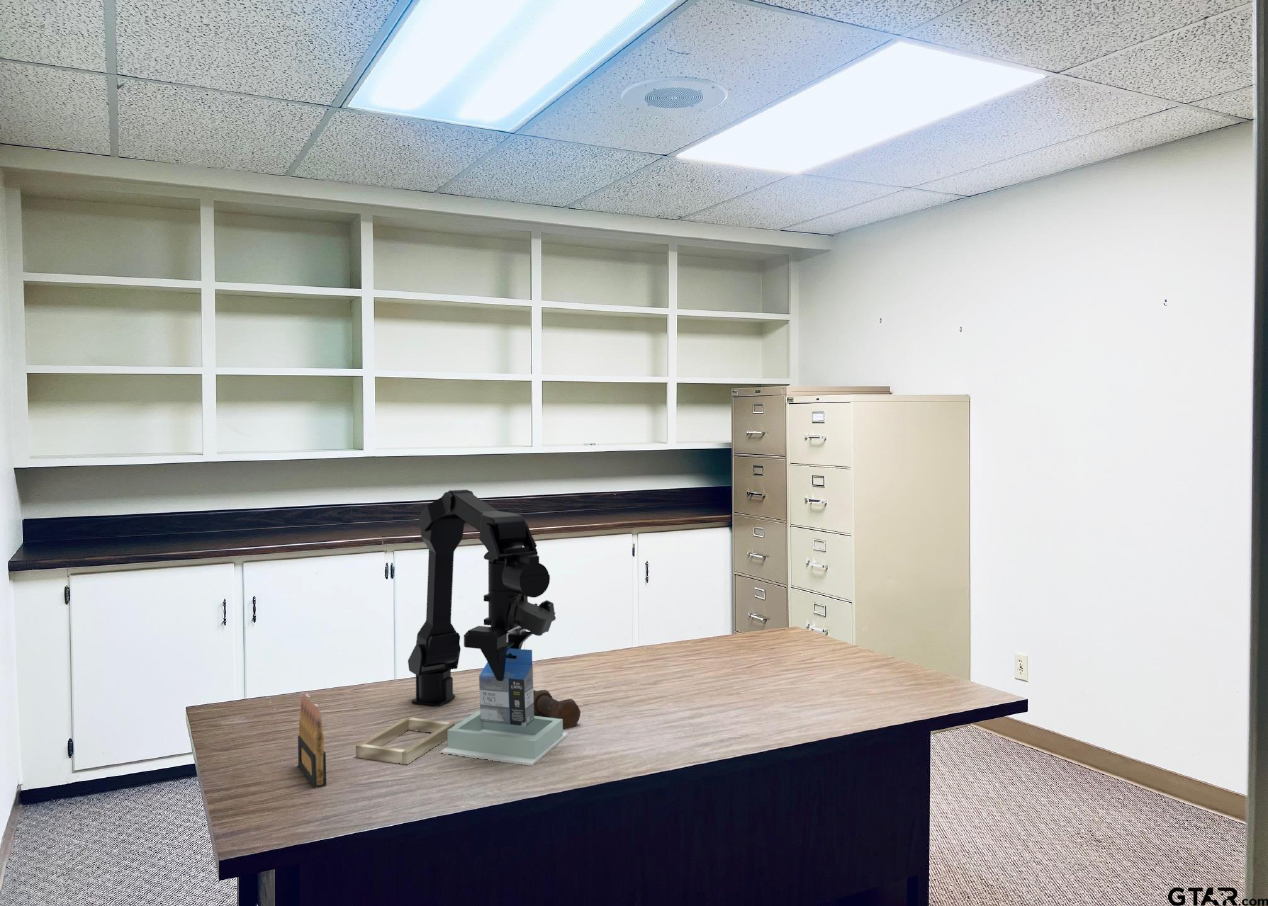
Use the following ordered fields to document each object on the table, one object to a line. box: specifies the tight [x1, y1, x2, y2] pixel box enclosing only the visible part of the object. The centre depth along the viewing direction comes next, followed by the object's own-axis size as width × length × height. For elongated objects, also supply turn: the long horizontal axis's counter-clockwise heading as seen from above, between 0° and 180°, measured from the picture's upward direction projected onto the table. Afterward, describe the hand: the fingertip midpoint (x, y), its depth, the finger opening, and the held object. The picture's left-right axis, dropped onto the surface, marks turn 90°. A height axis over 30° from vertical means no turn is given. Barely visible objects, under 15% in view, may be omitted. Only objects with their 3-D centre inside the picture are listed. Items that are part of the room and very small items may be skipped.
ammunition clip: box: [297, 693, 327, 789], centre depth 139 cm, size 11×2×12 cm, turn 33°
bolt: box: [533, 689, 582, 730], centre depth 166 cm, size 6×5×15 cm
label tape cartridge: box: [478, 648, 535, 726], centre depth 152 cm, size 9×4×12 cm, turn 71°
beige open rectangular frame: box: [355, 716, 456, 765], centre depth 152 cm, size 10×15×2 cm, turn 161°
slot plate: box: [440, 709, 569, 767], centre depth 152 cm, size 17×15×3 cm
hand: (505, 677), depth 152 cm, fingers closed on label tape cartridge, 4 cm apart
